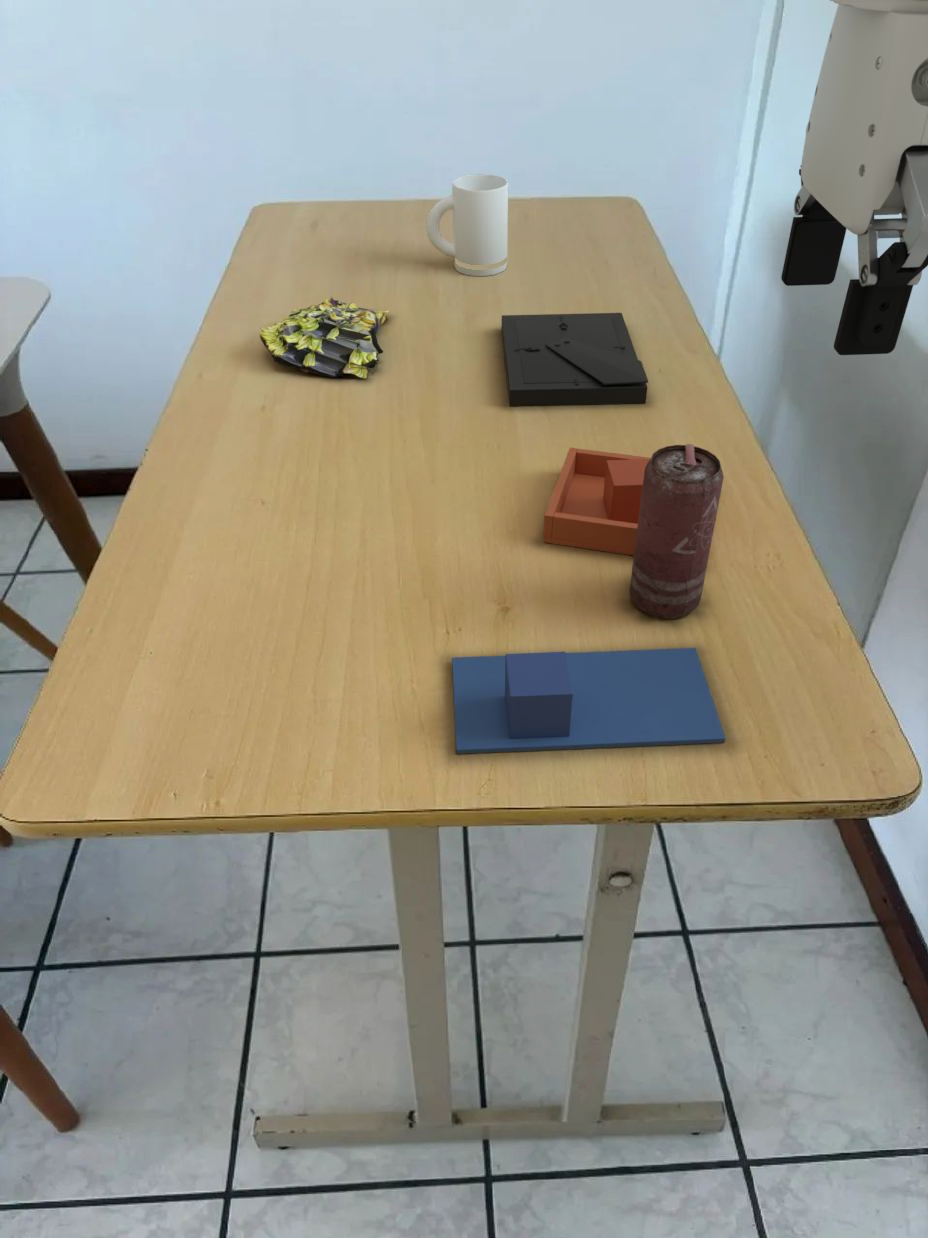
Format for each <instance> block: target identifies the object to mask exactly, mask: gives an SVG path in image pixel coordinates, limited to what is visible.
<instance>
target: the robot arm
mask: <svg viewBox="0 0 928 1238" xmlns="http://www.w3.org/2000/svg"><path fill="white" fill-rule="evenodd" d="M829 1H830V2H833V3H834V4H838V5H837V8H836V11H835V14H834V18H833V22H832V25H831V28H830V33H829V36H828V40H827V43H826V47H825V51H824V55H823V59H822V63H821V66H820V71H819V74H818V79H817V82H816V87H815V91H814V95H813V100H812V103H811V104H812V105H811V108H810V114H809V117H808V123H807V125H806V129H805V137H804V143H803V144H804V145H803V150H802V157H801V163H800V165H799V166H800V168H799V169H798V174H799V176H800V186H801V187H800V189H799V190H798V192H797V194H796V196H795V199H794V203H793V213H794V215H795V216H793V218H792V221H791V227H790V232H789V237H788V242H787V248H786V252H785V257H784V261H783V266H782V272H781V278H780V279H781V282H782V283H783V284H784V285H785V286H787V287H796V286H797V287H798V286H825V285H831V284H832V283H833V282H834V281H835V280H836V275H837V271H838V266H839V262H840V259H841V254H842V249H843V246H844V242H845V238H846V233H847V231H849V232H851V233H852V234H854V235H856V237H857V238H856V239H857V264H858V278H854V279H853V278H851V279H849V283H848V286H847V291H846V294H845V298H844V303H843V306H842V311H841V314H840V319H839V323H838V328H837V330H836V335H835V338H834V343H833V349H834V351H836V353H837V354H838V355H840V356H857V355H859V356H862V355H886V354H887V355H888V354H890V353H892V352H893V351H894V350H895V349H896V345H897V342H898V339H899V335H900V331H901V328H902V326H903V322H904V318H905V315H906V311H907V308H908V305H909V301H910V299H911V295H912V291H913V287H914V286H917V285H918V284H919V283H920V281H921V279H922V274H923V271H924V270H925V269H926V268H927V267H928V0H829ZM900 214H901V217H898V218H897V217H896V218H895V217H892V218H875V216H898V215H900ZM879 239H899V241H895V242H893V243H892V244H891V245H890V246H889V247H888V248H887V249H886V250H885V251H884V252H883V253H882V254H881V255H880V254H879ZM879 255H880V256H879Z"/></svg>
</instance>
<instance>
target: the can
mask: <svg viewBox="0 0 928 1238" xmlns="http://www.w3.org/2000/svg"><path fill="white" fill-rule="evenodd" d="M650 458H651V459H650V460H649V461H648V463H647V465H646V467H645V471H644V479H643V487H642V495H641V503H640V511H639V519H638V527H637V535H636V543H635V550H634V556H633V557H632V559H633V560H632V567H631V576H630V582H629V583H630V584H629V597H630V599H631V600H632V602H633V604H634V605H635V607H636V608H637V609H638V610H640V611H641V612H642V613H644V614H646V615H648V616H650V617H651V618H656V619H660V620H677V619H681V618H684V617H686V616H687V615H690V614H691V613H692V612H693V611H694V610H696V608H697V607H699V605H700V602H701V599H702V593H703V589H704V583H705V579H706V578H705V577H706V573H707V568H708V562H709V556H710V551H711V545H712V541H713V536H714V531H715V525H716V520H717V514H718V509H719V503H720V498H721V495H722V490H723V489H722V488H723V484H724V472H723V468H722V464H721V461H720V459H719V458H718V457H717V456H716V455H715V454H714V453H712V452H711V451H709V450H707V449H704V448H701V447H699V446H695V445H694V444H692V443H687V444H673V445H667V446H664V447H661V448H658V449H657V450H656V451H655V452H653V453H652V455H651V457H650Z"/></svg>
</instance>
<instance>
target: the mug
mask: <svg viewBox="0 0 928 1238" xmlns="http://www.w3.org/2000/svg"><path fill="white" fill-rule="evenodd" d="M451 184H452V185H451V191H452V192H451V193H452V194H451V195H448V196H446V197H442V198H441V199H440V200H439V201H437V202H436V203H435V204H434V205H433V207H432V208H431V210H430V211H429V213H428V215H427V219H426V226H425V227H426V235H427V237H428V240H429V242H430V243H431V245H432V246H433V247H434V248H435V249H436V250H437V251H438V252H439V253H440V254H443V255H445V256H447V257H451V258H454V257H455V258H456V259H457V260H458V261H460V262H462V263H466V264H470V265H490V264H495V263H498V262H501V261H502V260H504V259H505V258H506V257H507V258H508V240H509V239H508V238H509V237H508V236H509V235H508V233H509V232H508V230H509V229H508V228H509V225H508V223H509V182H508V180H507V179H506V178H505V177H503V176H499V175H495V174H487V173H476V174H467V175H463V176H460V177H457V178H455V179H454V180H453V182H452V183H451ZM450 210H452V232H453V243H451V242H449V241H447V240H446V239H445V238H444V237H443V235H442V233H441V231H440V223H441V219H442V218H443V216H444V215H445V214H446V213H447V212H449V211H450ZM453 266H454V268H455V270H456V272H458V273H460V274H463V275H464V276H465V275H466V276H470V277H471V276H472V277H489V276H494V275H499V274H500V273H503V272H504V271H505V270H506V269H507V267H508V261H507V262H506V263H505V264H504V265H502V266H500V267H498V268H494V269H487V270H472V269H466V268H463V267H460V266H458V265H457V264H456V263H455V262H454V261H453Z"/></svg>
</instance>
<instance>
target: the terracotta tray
mask: <svg viewBox="0 0 928 1238" xmlns="http://www.w3.org/2000/svg"><path fill="white" fill-rule="evenodd" d="M631 459H651V457H649V456H640V455H632V454H623V453H616V452H610V451H609V452H608V451H600V450H594V449H593V450H591V449H585V448H578V447H569V449H568V452H567V454H566V457H565V460H564V462H563V465H562V467H561V470H560V473H559V476H558V478H557V481H556V484H555V486H554V489H553V492H552V495H551V497H550V499H549V502H548V505H547V507H546V510H545V512H544V515H543V516H544V517H543V536H542V537H543V540H542V541H543V543H547V544H554V545H560V546H566V547H572V548H573V547H574V548H579V549H587V550H592V551H593V550H594V551H600V552H607V553H613V554H619V555H628V556H633V557H634V550H635V543H636V535H637V527H638V524H635V523H628V522H621V521H614V520H609V519H608V516H607V512H606V509H605V505H604V501H603V493H604V482H605V471H606V461H607V460H631Z"/></svg>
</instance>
